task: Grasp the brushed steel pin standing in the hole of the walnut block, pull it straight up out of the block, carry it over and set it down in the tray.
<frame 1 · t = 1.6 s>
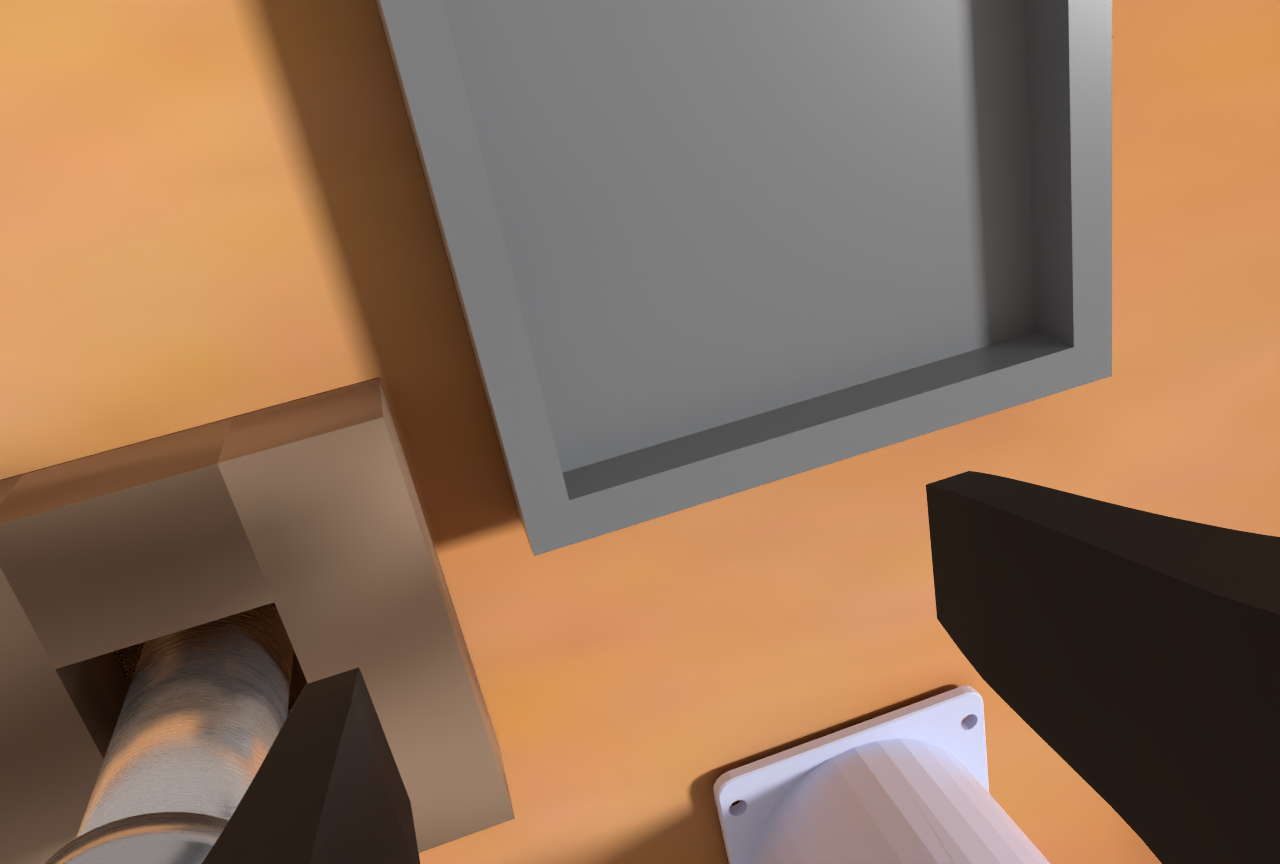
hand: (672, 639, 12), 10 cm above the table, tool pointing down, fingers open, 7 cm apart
pin: (195, 767, 18), in the pin block
tray: (752, 82, 20), on the table
pin block: (221, 648, 21), on the table
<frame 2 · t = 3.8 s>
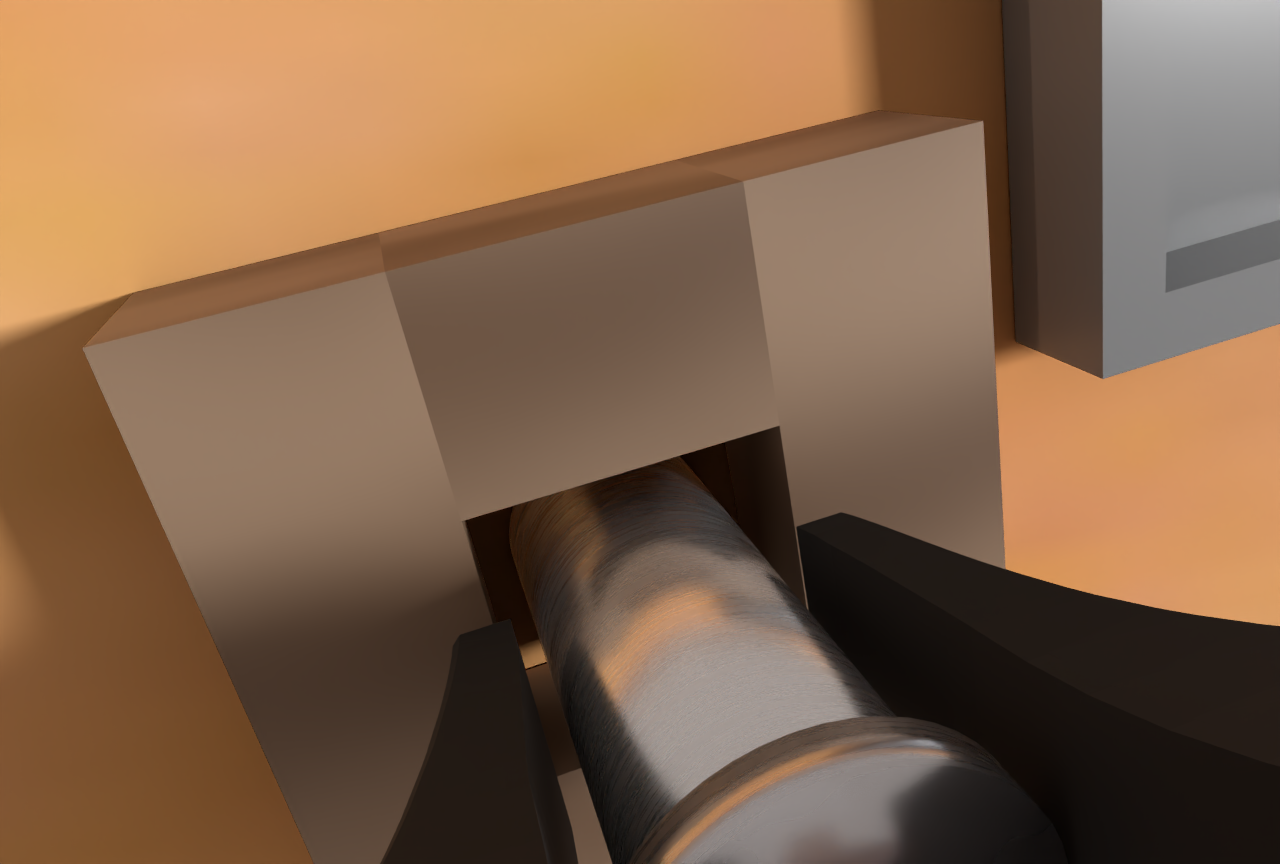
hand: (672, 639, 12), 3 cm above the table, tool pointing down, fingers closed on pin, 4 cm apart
pin: (692, 676, 11), in the pin block, touching gripper
pin block: (609, 525, 15), on the table
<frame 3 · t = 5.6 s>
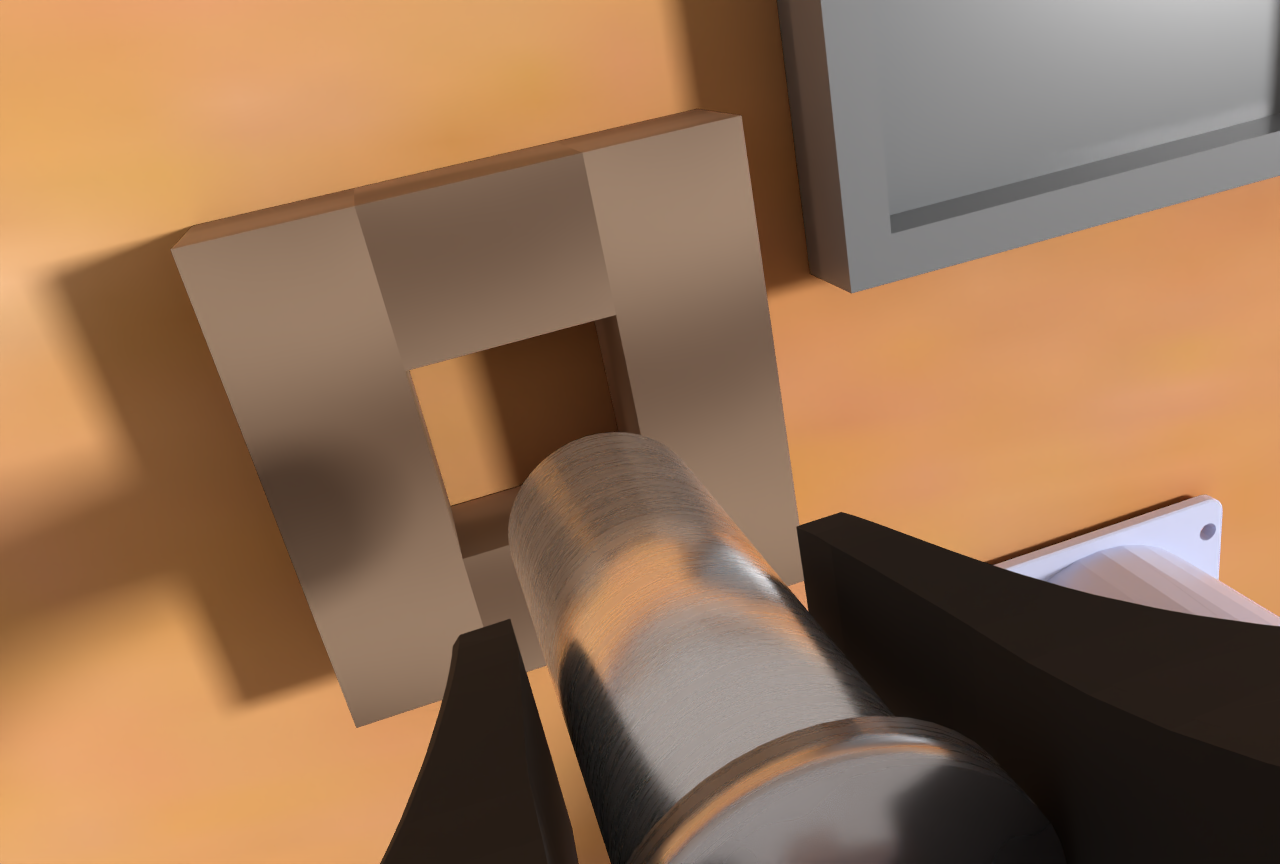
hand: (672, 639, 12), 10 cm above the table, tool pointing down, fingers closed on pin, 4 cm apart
pin: (690, 676, 11), point 11 cm above the table, touching gripper
pin block: (517, 398, 21), on the table
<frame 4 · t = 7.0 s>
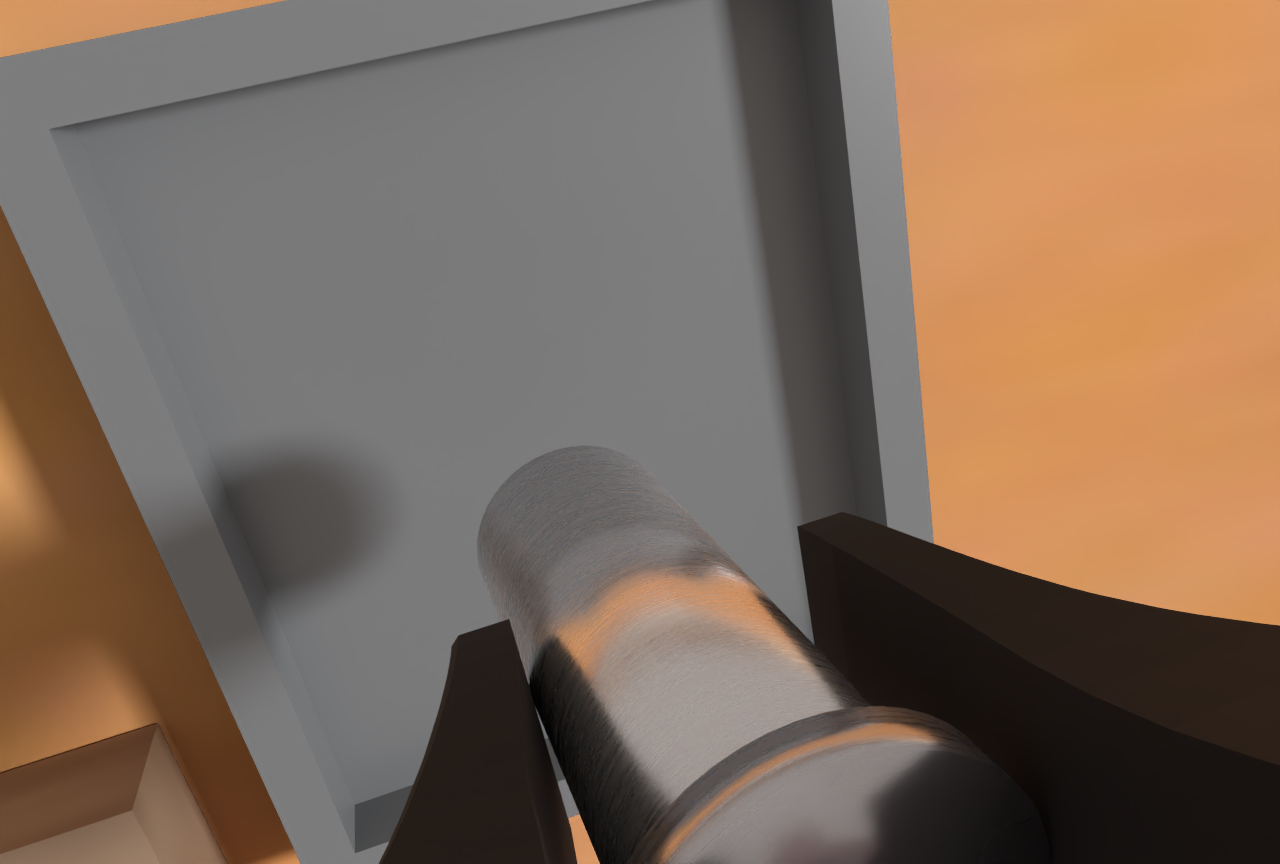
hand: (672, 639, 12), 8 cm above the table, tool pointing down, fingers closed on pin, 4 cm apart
pin: (669, 682, 11), point 9 cm above the table, touching gripper
tray: (547, 415, 19), on the table
when the fingers open (5 cm above the table, at t = 7.9 s): pin drops 1 cm, resting on tray.
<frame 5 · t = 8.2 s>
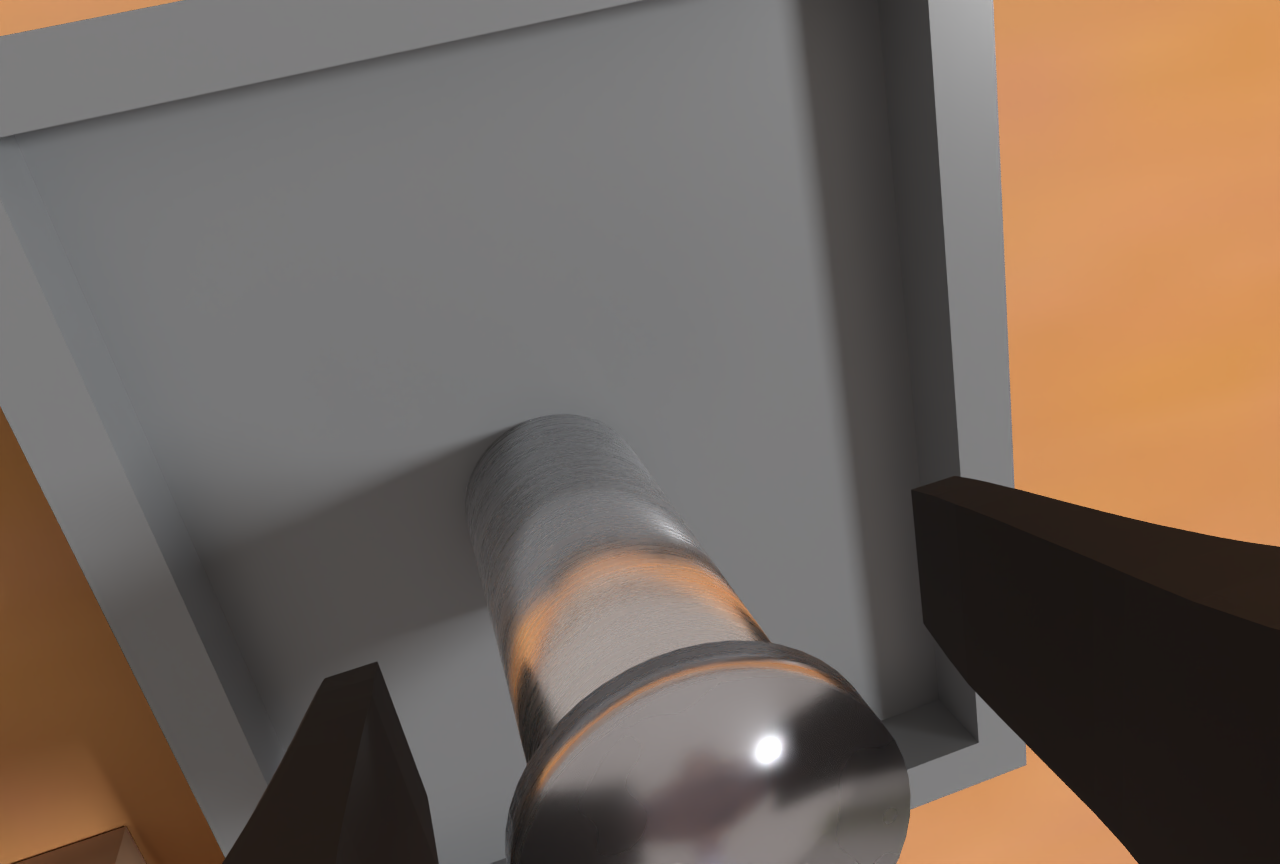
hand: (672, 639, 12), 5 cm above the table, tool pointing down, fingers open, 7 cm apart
pin: (615, 627, 13), in the tray, point 5 cm above the table
tray: (578, 470, 17), on the table
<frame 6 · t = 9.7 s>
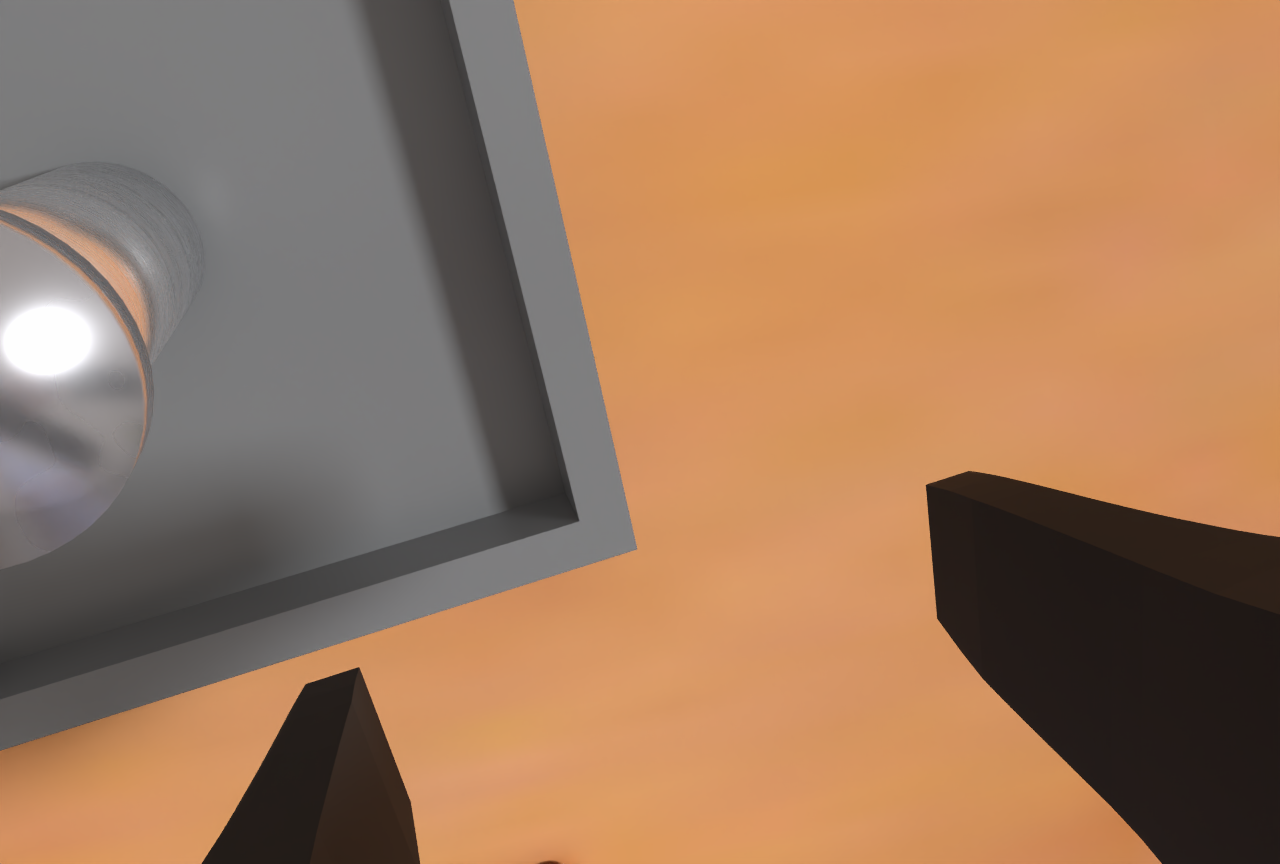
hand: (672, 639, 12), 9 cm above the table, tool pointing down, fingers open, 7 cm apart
pin: (43, 306, 13), in the tray, point 5 cm above the table
tray: (145, 231, 17), on the table
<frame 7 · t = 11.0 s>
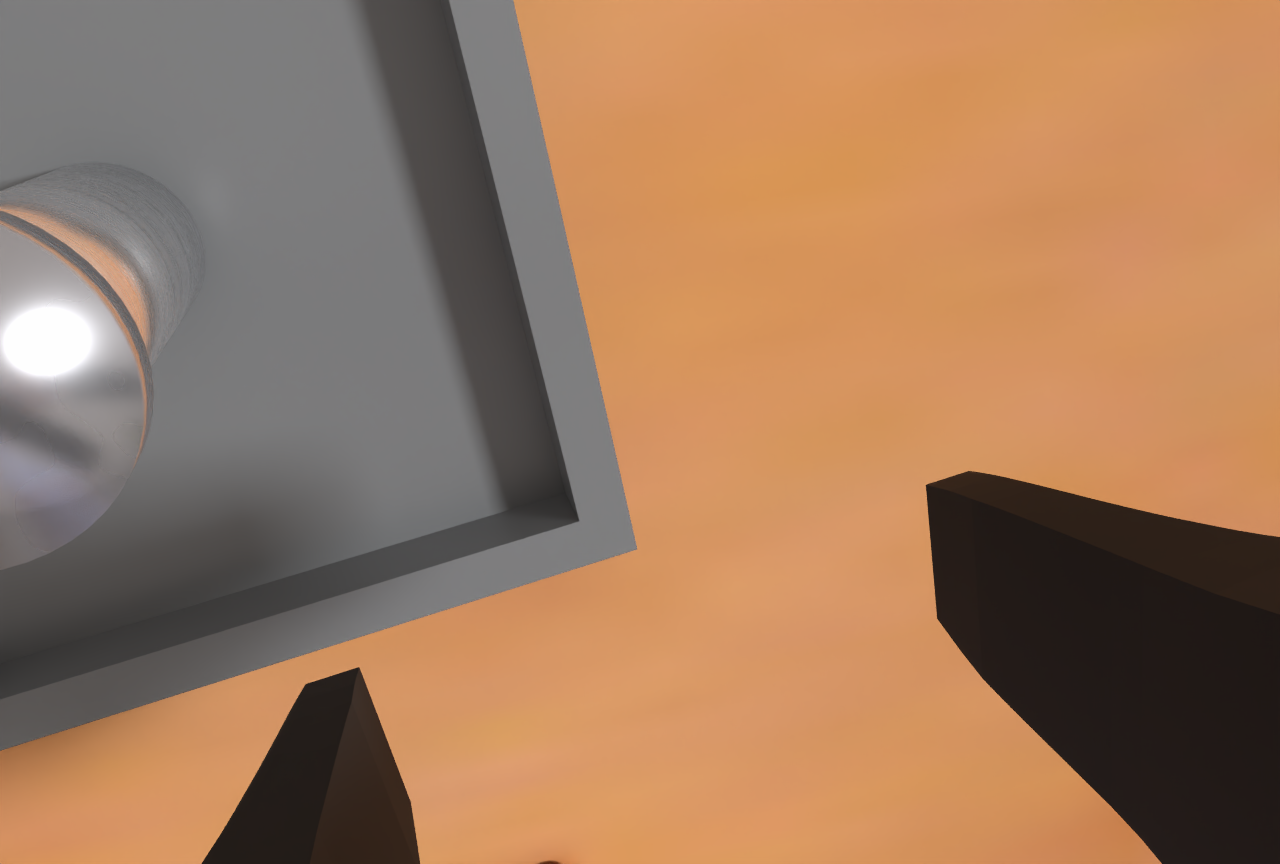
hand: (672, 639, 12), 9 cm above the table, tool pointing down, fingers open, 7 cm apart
pin: (43, 306, 13), in the tray, point 5 cm above the table
tray: (145, 231, 17), on the table
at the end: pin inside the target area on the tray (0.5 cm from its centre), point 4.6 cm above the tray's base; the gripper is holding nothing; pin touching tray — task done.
